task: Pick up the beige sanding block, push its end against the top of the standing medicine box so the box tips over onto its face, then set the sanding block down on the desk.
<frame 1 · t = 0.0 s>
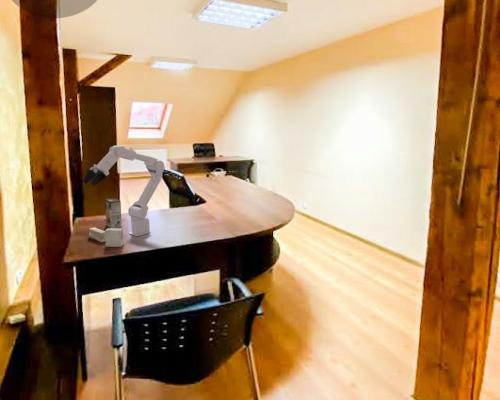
hand: (88, 183, 181), 32 cm above the table, tool tilted 50°, fingers open, 7 cm apart
beige sanding block: (98, 239, 199), on the table
medicine box: (114, 245, 189), on the table
coffee box: (114, 226, 222), on the table
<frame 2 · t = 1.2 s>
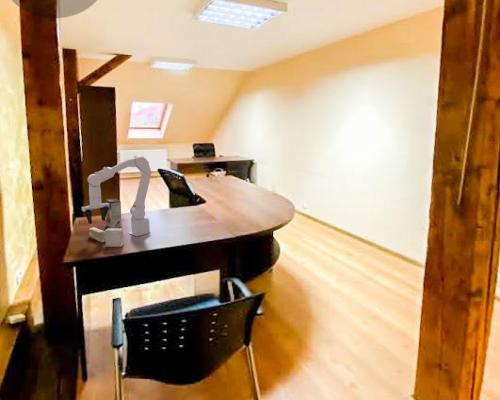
hand: (96, 221, 196), 9 cm above the table, tool pointing down, fingers open, 7 cm apart
nothing on the table moved.
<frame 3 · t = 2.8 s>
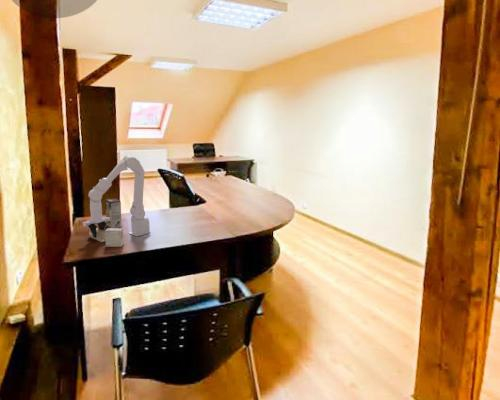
hand: (97, 236, 198), 1 cm above the table, tool pointing down, fingers closed on beige sanding block, 3 cm apart
beige sanding block: (98, 238, 198), on the table, touching gripper
everything else where it was.
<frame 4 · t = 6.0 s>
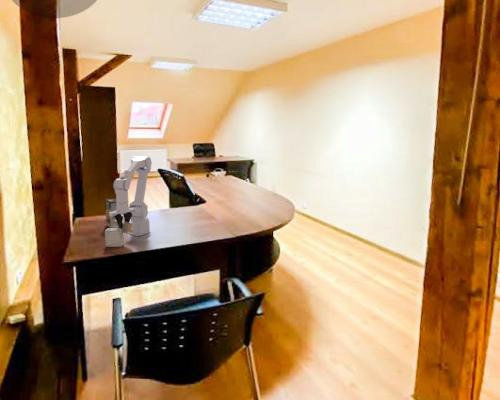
hand: (123, 227, 191), 8 cm above the table, tool pointing down, fingers closed on beige sanding block, 3 cm apart
beige sanding block: (123, 231, 192), point 6 cm above the table, touching gripper
medicine box: (114, 245, 189), on the table, touching gripper
everything else where it was.
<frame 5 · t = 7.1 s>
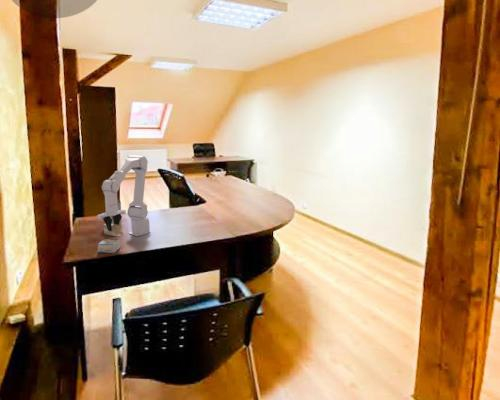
hand: (112, 230, 187), 8 cm above the table, tool pointing down, fingers closed on beige sanding block, 3 cm apart
beige sanding block: (113, 234, 187), point 6 cm above the table, tilted 6°, touching gripper
medicine box: (112, 242, 186), point 2 cm above the table
everything else where it was.
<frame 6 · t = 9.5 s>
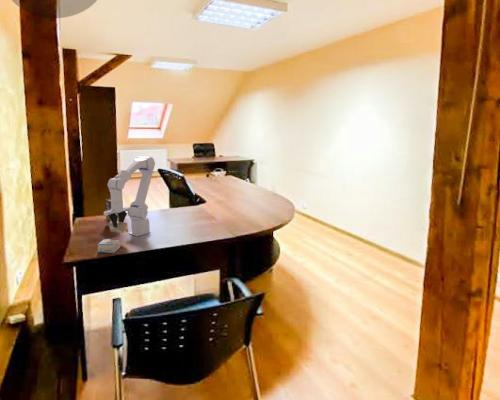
hand: (118, 226, 193), 8 cm above the table, tool pointing down, fingers closed on beige sanding block, 3 cm apart
beige sanding block: (119, 231, 193), point 6 cm above the table, tilted 6°, touching gripper
everything else where it was.
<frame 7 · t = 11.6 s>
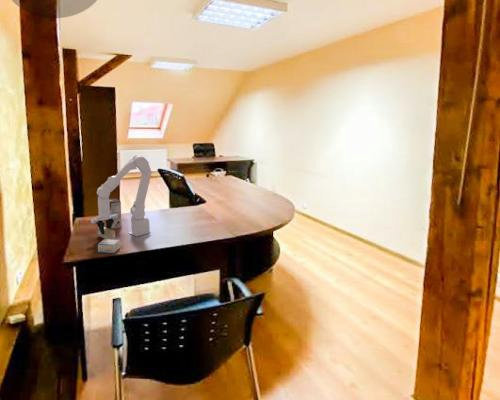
hand: (105, 233, 200), 2 cm above the table, tool pointing down, fingers closed on beige sanding block, 3 cm apart
beige sanding block: (106, 237, 200), on the table, touching gripper
everything else where it was.
when the fingers open (2 cm above the table, at t = 11.6 s): beige sanding block stays where it is, on the table.
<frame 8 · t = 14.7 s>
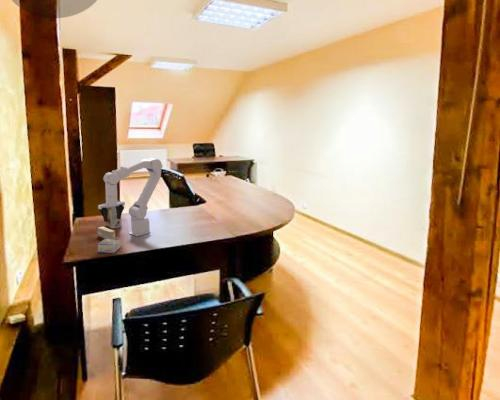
hand: (112, 220, 197), 10 cm above the table, tool pointing down, fingers open, 7 cm apart
beige sanding block: (106, 238, 201), on the table
everything else where it was.
at the end: medicine box tilted 89°; medicine box inside the target area (2.5 cm from its centre), point 2.1 cm above the table; beige sanding block inside the target area (0.8 cm from its centre), on the table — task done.
